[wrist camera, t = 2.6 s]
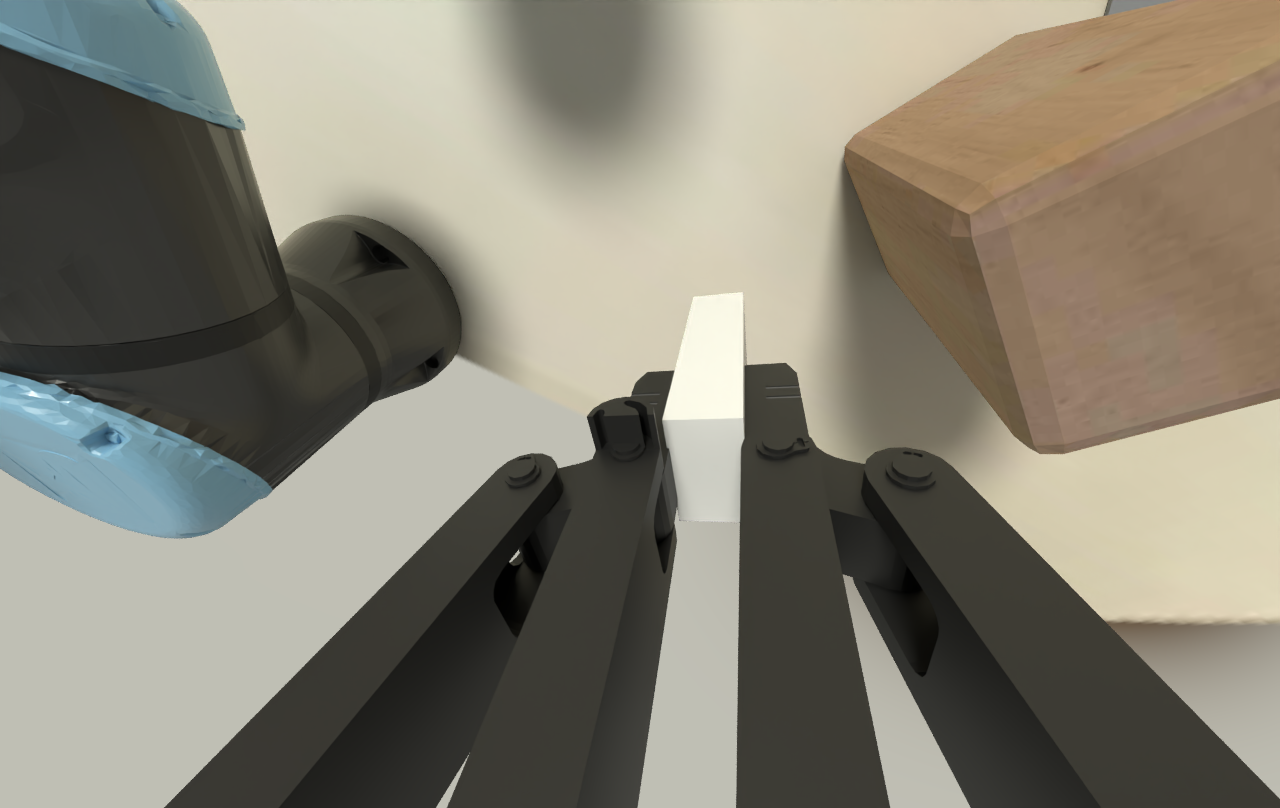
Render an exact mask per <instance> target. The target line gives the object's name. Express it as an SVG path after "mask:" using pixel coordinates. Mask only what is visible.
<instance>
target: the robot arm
mask: <svg viewBox="0 0 1280 808" xmlns="http://www.w3.org/2000/svg"><path fill="white" fill-rule="evenodd" d="M241 130H245V124H244V121H243V119H242V118H240V117H239V116H238V115H237V114H236V113H235V110H234V107H233V105H232V102H231V99H230V97H229V94H228V91H227V89H226V86H225V83H224V80H223V78H222V75H221V72H220V70H219V67H218V64H217V62H216V59H215V56H214V54H213V51H212V48H211V45H210V43H209V41H208V39H207V37H206V35H205V33H204V31H203V30H202V28H201V26H200V25H199V24H198V22H197V21H196V20H195V19H194V17H193V16H192V15H191V14H190V13H189V12H188V11H187V10H186V9H185V8H184V7H183V6H182V5H181V4H180V3H178V2H177V1H176V0H0V469H2V470H3V471H5V472H6V473H8V474H9V475H11V476H12V477H14V478H16V479H17V480H19V481H21V482H22V483H24V484H26V485H28V486H29V487H31V488H33V489H35V490H37V491H39V492H40V493H42V494H44V495H46V496H48V497H50V498H52V499H54V500H56V501H58V502H60V503H62V504H64V505H66V506H68V507H71V508H72V509H75V510H77V511H79V512H81V513H84V514H86V515H88V516H91V517H93V518H96V519H98V520H101V521H103V522H106V523H109V524H111V525H114V526H117V527H120V528H124V529H127V530H130V531H134V532H138V533H142V534H147V535H151V536H156V537H163V538H192V537H196V536H201V535H205V534H208V533H210V532H212V531H214V530H217V529H219V528H221V527H222V526H224V525H225V524H227V523H228V522H229V521H230V520H232V519H233V518H234V517H236V516H237V515H238V514H240V513H241V512H242V511H243V510H245V509H246V508H248V507H249V506H250V505H252V504H253V503H254V502H256V501H257V500H258V499H263V498H265V497H267V496H268V495H269V494H270V493H271V492H272V490H273V489H274V488H276V487H277V486H278V485H279V484H280V483H281V482H283V481H284V480H285V479H286V478H287V477H288V476H289V475H290V474H292V473H293V472H294V471H295V470H296V469H297V468H298V467H300V466H301V465H302V464H303V463H304V462H305V461H306V460H307V459H309V458H310V457H311V456H312V455H313V454H314V453H315V452H317V451H318V450H319V449H320V448H321V447H322V446H324V445H325V444H326V443H327V442H328V441H329V440H330V439H332V438H333V437H334V436H335V435H336V434H337V433H338V432H339V431H341V430H342V429H343V428H344V427H345V426H346V425H347V424H349V423H350V422H351V421H352V420H353V419H354V418H355V417H356V416H357V415H359V414H360V413H361V412H362V411H363V410H364V409H366V408H367V407H368V406H369V405H370V404H372V403H373V402H375V401H378V400H381V399H384V398H387V397H390V396H393V395H396V394H398V393H401V392H404V391H407V390H410V389H413V388H416V387H419V386H421V385H423V384H425V383H427V382H429V381H430V380H432V379H433V378H434V377H435V376H437V375H438V374H439V373H440V372H441V371H442V370H443V369H444V368H445V367H446V366H447V365H448V364H449V363H450V362H451V361H452V359H453V358H454V356H455V354H456V352H457V350H458V347H459V343H460V338H461V321H460V315H459V310H458V307H457V303H456V300H455V298H454V295H453V293H452V291H451V289H450V287H449V285H448V283H447V281H446V280H445V278H444V276H443V275H442V273H441V272H440V270H439V269H438V268H437V266H436V265H435V264H434V263H433V261H432V260H431V259H430V258H429V257H428V256H427V255H426V254H425V253H424V252H423V251H422V250H421V249H420V248H419V247H418V246H417V245H416V244H415V243H413V242H412V241H411V240H410V239H408V238H407V237H405V236H404V235H403V234H401V233H400V232H398V231H396V230H395V229H393V228H391V227H389V226H387V225H385V224H383V223H381V222H378V221H375V220H372V219H369V218H365V217H361V216H354V215H339V216H333V217H329V218H326V219H322V220H319V221H316V222H312V223H309V224H307V225H305V226H303V227H301V228H299V229H298V230H296V231H295V232H293V233H292V234H291V235H290V236H289V237H288V238H287V239H286V240H285V241H284V242H283V243H282V244H281V245H280V246H279V247H278V248H277V245H276V242H275V239H274V236H273V233H272V229H271V226H270V223H269V220H268V217H267V213H266V210H265V207H264V204H263V200H262V197H261V194H260V191H259V187H258V184H257V181H256V178H255V174H254V171H253V168H252V165H251V161H250V158H249V155H248V152H247V149H246V145H245V142H244V139H243V136H242V132H241ZM587 419H588V423H589V426H590V430H591V433H592V437H593V441H594V444H595V448H596V452H595V454H594V456H593V459H592V460H589V461H586V462H583V463H580V464H576V465H571V466H567V467H563V468H558V467H557V465H556V463H555V461H554V460H553V459H552V458H551V457H550V456H547V455H544V454H527V455H523V456H519V457H517V458H515V459H513V460H510V461H508V462H507V463H506V464H504V465H503V466H502V467H501V468H499V469H498V470H497V471H496V472H495V473H494V474H493V475H492V476H491V477H490V478H489V479H488V480H487V481H486V482H485V483H484V484H483V485H482V486H481V487H480V488H479V489H478V490H477V491H476V492H475V493H474V494H473V495H472V496H471V497H470V498H469V499H468V500H467V501H466V502H465V504H463V505H462V506H461V507H460V508H459V510H457V511H456V512H455V513H454V515H452V517H451V518H450V519H449V520H448V521H447V522H446V523H445V524H444V525H443V526H442V527H441V528H440V529H439V530H438V531H437V532H436V533H435V534H434V535H433V536H432V537H431V538H430V539H429V540H428V541H427V542H426V543H425V544H424V545H423V546H422V547H421V548H420V549H419V550H418V551H417V552H416V553H415V554H414V555H413V556H412V557H411V558H410V559H409V560H408V561H407V562H406V563H405V564H404V565H403V566H402V567H401V568H400V569H399V570H398V571H397V572H396V573H395V574H394V575H393V576H392V577H391V578H390V579H389V580H388V581H387V582H386V583H385V585H384V586H383V587H381V588H380V589H379V590H378V592H377V593H376V594H375V595H374V596H373V597H372V598H371V599H370V600H369V601H368V602H367V603H366V604H365V605H364V606H363V607H362V608H361V609H360V610H359V611H358V612H357V613H356V614H355V615H354V616H353V617H352V618H351V619H350V620H349V621H348V622H347V623H346V624H345V625H344V626H343V627H342V628H341V629H340V630H339V631H338V632H337V633H336V634H335V635H334V636H333V637H332V638H331V639H330V640H329V641H328V642H327V643H326V644H325V645H324V646H323V647H322V648H321V649H320V650H319V651H318V653H316V654H315V655H314V656H313V657H312V658H311V659H310V660H309V662H308V663H306V664H305V666H304V667H303V668H302V669H301V670H300V671H299V672H298V673H297V674H296V675H295V676H294V677H293V678H292V679H291V680H290V681H289V682H288V683H287V684H286V685H285V686H284V687H283V688H282V689H281V690H280V691H279V692H278V693H277V694H276V695H275V696H274V697H273V698H272V699H271V700H270V701H269V702H268V703H267V704H266V705H265V706H264V707H263V708H262V709H261V710H260V711H259V712H258V713H257V714H256V715H255V716H254V717H253V718H252V719H251V720H250V721H249V722H248V723H247V724H246V725H245V726H244V727H243V728H242V729H241V731H239V732H238V733H237V734H236V735H235V737H234V738H233V739H232V740H231V741H230V742H229V743H228V744H227V745H226V746H225V747H224V748H223V749H222V750H221V751H220V752H219V753H218V754H217V755H216V756H215V757H214V758H213V759H212V760H211V761H210V762H209V763H208V764H207V765H206V766H205V767H204V768H203V769H202V770H201V771H200V772H199V773H198V774H197V775H196V776H195V777H194V778H193V779H192V780H191V781H190V782H189V783H188V784H187V785H186V786H185V787H184V788H183V789H182V790H181V791H180V792H179V793H178V794H177V795H176V796H175V797H174V798H173V799H172V800H171V802H169V803H168V804H167V806H166V807H164V808H436V806H437V805H438V803H439V802H440V800H441V798H442V797H443V795H444V794H445V792H446V790H447V789H448V787H449V786H450V784H451V782H452V781H453V779H454V777H455V776H456V774H457V772H458V771H459V769H460V768H461V766H462V764H463V763H464V761H465V759H466V758H467V756H468V755H469V756H468V759H467V761H466V764H465V766H464V768H463V771H462V773H461V776H460V778H459V780H458V783H457V785H456V788H455V790H454V792H453V795H452V797H451V800H450V802H449V804H448V807H447V808H637V806H638V800H639V793H640V786H641V779H642V773H643V766H644V759H645V752H646V745H647V739H648V732H649V725H650V719H651V712H652V705H653V698H654V692H655V685H656V678H657V671H658V665H659V658H660V650H661V644H662V637H663V631H664V624H665V617H666V610H667V603H668V597H669V589H670V584H671V577H672V570H673V563H674V557H675V550H676V543H677V538H676V530H675V524H674V520H675V514H676V508H677V510H678V515H679V520H680V521H702V522H739V523H740V561H739V562H740V563H739V564H740V565H739V638H738V716H737V717H738V718H737V719H738V720H737V722H738V723H737V724H738V725H737V794H736V795H737V796H736V808H890V805H889V800H888V795H887V790H886V785H885V780H884V775H883V771H882V765H881V761H880V756H879V751H878V746H877V741H876V737H875V731H874V726H873V721H872V716H871V712H870V707H869V702H868V697H867V692H866V687H865V682H864V677H863V672H862V668H861V663H860V658H859V653H858V648H857V643H856V638H855V633H854V628H853V623H852V619H851V614H850V609H849V604H848V599H847V594H846V589H845V584H844V579H843V574H844V575H847V576H850V577H853V580H854V584H855V586H856V588H857V590H858V591H859V593H860V595H861V597H862V599H863V601H864V603H865V605H866V607H867V609H868V611H869V612H870V615H871V617H872V618H873V620H874V622H875V624H876V626H877V628H878V630H879V632H880V634H881V636H882V638H883V640H884V641H885V643H886V645H887V647H888V649H889V651H890V653H891V655H892V657H893V659H894V661H895V663H896V665H897V666H898V668H899V670H900V672H901V674H902V676H903V678H904V680H905V682H906V684H907V686H908V688H909V690H910V692H911V693H912V695H913V697H914V699H915V701H916V703H917V705H918V707H919V709H920V711H921V713H922V715H923V716H924V719H925V720H926V722H927V724H928V726H929V728H930V730H931V732H932V734H933V736H934V738H935V740H936V742H937V744H938V745H939V747H940V749H941V751H942V753H943V755H944V757H945V759H946V761H947V763H948V765H949V767H950V768H951V770H952V772H953V774H954V776H955V778H956V780H957V782H958V784H959V786H960V788H961V790H962V792H963V793H964V795H965V797H966V799H967V801H968V803H969V805H970V807H971V808H1280V799H1279V798H1278V797H1277V796H1276V795H1275V794H1274V793H1273V792H1272V791H1271V790H1270V789H1269V788H1268V787H1267V786H1266V785H1265V784H1264V783H1263V782H1262V781H1261V779H1259V777H1258V776H1257V775H1256V774H1255V773H1254V772H1253V771H1252V770H1250V768H1249V767H1248V766H1247V765H1246V764H1245V763H1244V762H1243V761H1242V760H1241V759H1240V758H1239V757H1238V756H1237V755H1236V754H1235V753H1234V752H1233V751H1232V750H1231V749H1230V748H1229V747H1228V746H1227V745H1226V744H1225V743H1224V742H1223V741H1222V740H1221V739H1220V738H1219V737H1218V736H1217V735H1216V734H1215V733H1214V732H1213V731H1212V730H1211V729H1210V728H1209V727H1208V726H1207V725H1206V724H1205V723H1204V722H1203V721H1202V720H1201V719H1200V718H1199V717H1198V716H1197V715H1196V713H1195V712H1194V711H1193V710H1192V709H1191V708H1190V707H1189V706H1188V705H1187V704H1186V703H1185V702H1184V701H1183V700H1182V699H1181V698H1180V697H1179V696H1178V695H1177V694H1176V693H1175V692H1174V691H1173V690H1172V689H1171V688H1170V687H1169V686H1168V685H1167V684H1166V683H1165V682H1164V681H1163V680H1162V679H1161V678H1160V677H1159V676H1158V675H1157V674H1156V673H1155V672H1154V671H1153V670H1152V669H1151V668H1150V667H1149V666H1148V665H1147V664H1146V663H1145V662H1144V661H1143V660H1142V659H1141V658H1140V657H1139V656H1138V655H1137V654H1136V653H1135V652H1134V651H1133V649H1132V648H1131V647H1129V646H1128V644H1127V643H1126V642H1125V641H1124V640H1123V639H1122V638H1121V637H1120V636H1119V635H1118V634H1117V633H1116V632H1115V631H1114V630H1113V629H1112V628H1111V627H1110V626H1109V625H1108V624H1107V623H1106V622H1105V621H1104V620H1103V619H1102V618H1101V617H1100V616H1099V615H1098V614H1097V613H1096V612H1095V611H1094V610H1093V609H1092V608H1091V607H1090V606H1089V605H1088V604H1087V603H1086V602H1085V601H1084V600H1083V599H1082V598H1081V597H1080V596H1079V595H1078V594H1077V593H1076V592H1075V591H1074V590H1073V589H1072V588H1071V587H1070V585H1069V584H1068V583H1067V582H1066V581H1065V580H1064V579H1063V578H1062V577H1061V576H1060V575H1059V574H1058V573H1057V572H1056V571H1055V570H1054V569H1053V568H1052V567H1051V566H1050V565H1049V564H1048V563H1047V562H1046V561H1045V560H1044V559H1043V558H1042V557H1041V556H1040V555H1039V554H1038V553H1037V552H1036V551H1035V550H1034V549H1033V548H1032V547H1031V546H1030V545H1029V544H1028V543H1027V542H1026V541H1025V540H1024V539H1023V538H1022V537H1021V536H1020V535H1019V534H1018V533H1017V532H1016V531H1015V530H1014V529H1013V528H1012V527H1011V526H1010V525H1009V524H1008V523H1007V522H1006V520H1005V519H1004V518H1003V517H1002V516H1001V515H1000V514H999V513H998V512H997V511H996V510H995V509H994V508H993V507H992V506H991V505H990V504H989V503H988V502H987V501H986V500H985V499H984V498H983V497H982V496H981V495H980V494H979V493H978V492H977V491H976V490H975V489H974V488H973V487H972V486H971V485H970V484H969V483H968V482H967V481H966V480H965V479H964V478H963V477H962V476H961V475H960V474H959V473H958V472H957V471H956V470H955V469H954V468H953V467H952V466H951V465H949V464H948V463H947V462H945V461H944V460H943V459H941V458H940V457H937V456H935V455H933V454H930V453H928V452H925V451H922V450H916V449H911V448H888V449H885V450H881V451H878V452H875V453H874V454H873V455H872V456H870V457H869V458H868V459H867V461H866V464H861V463H856V462H851V461H846V460H843V459H839V458H835V457H833V456H831V455H829V454H826V453H824V452H823V451H821V450H820V449H819V448H817V447H816V445H815V443H814V442H813V440H812V438H810V437H809V434H808V429H807V424H806V419H805V414H804V408H803V403H802V398H801V393H800V388H799V383H798V377H797V373H796V372H795V371H794V370H793V369H792V368H791V367H790V366H789V365H787V364H786V363H776V364H759V365H747V357H746V336H745V315H744V293H743V292H739V293H728V294H718V295H707V296H697V297H693V301H692V305H691V309H690V313H689V317H688V321H687V325H686V329H685V332H684V336H683V340H682V344H681V348H680V352H679V356H678V360H677V364H676V368H675V371H659V372H647V373H646V374H645V375H644V376H642V377H641V378H640V379H639V380H638V381H637V382H636V383H635V386H634V389H633V391H632V396H631V397H622V398H616V399H612V400H609V401H607V402H604V403H602V404H600V405H599V406H597V407H595V408H594V409H593V410H592V411H591V412H590V413H589V415H588V416H587ZM518 549H519V552H520V554H519V555H518V556H517V557H516V558H515V559H514V560H513V561H512V562H510V563H509V561H510V560H511V558H512V557H513V556H514V555H515V553H516V552H517V551H518ZM469 753H470V754H469Z"/></svg>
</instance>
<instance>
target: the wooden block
mask: <svg viewBox="0 0 1280 808" xmlns="http://www.w3.org/2000/svg"><path fill="white" fill-rule="evenodd" d="M844 162H845V164H846V167H847V169H848V172H849V174H850V177H851V179H852V182H853V184H854V187H855V190H856V192H857V195H858V197H859V200H860V202H861V205H862V207H863V210H864V213H865V215H866V218H867V220H868V223H869V225H870V228H871V230H872V233H873V235H874V238H875V241H876V243H877V246H878V248H879V251H880V253H881V256H882V258H883V261H884V264H885V266H886V269H887V271H888V273H889V275H890V276H891V277H892V279H893V280H894V281H895V283H896V284H897V285H898V286H899V288H900V289H901V290H902V292H903V293H904V294H905V295H906V297H907V298H908V299H909V301H910V302H911V303H912V305H913V306H914V307H915V308H916V310H917V311H918V312H919V314H920V315H921V316H922V317H923V319H924V320H925V321H926V323H927V324H928V325H929V327H930V328H931V329H932V330H933V332H934V333H935V334H936V336H937V337H938V338H939V339H940V341H941V342H942V343H943V345H944V346H945V347H946V349H947V350H948V351H949V352H950V354H951V355H952V356H953V358H954V359H955V360H956V361H957V363H958V364H959V365H960V367H961V368H962V369H963V370H964V372H965V373H966V374H967V376H968V377H969V378H970V380H971V381H972V382H973V383H974V385H975V386H976V387H977V389H978V390H979V391H980V392H981V394H982V395H983V396H984V398H985V399H986V400H987V402H988V403H989V404H990V405H991V407H992V408H993V409H994V411H995V412H996V413H997V414H998V416H999V417H1000V418H1001V420H1002V421H1003V422H1004V424H1005V425H1006V426H1007V427H1008V429H1009V430H1010V431H1011V433H1012V434H1013V435H1014V436H1015V437H1016V438H1017V439H1019V440H1020V441H1021V442H1022V443H1023V444H1025V445H1026V446H1027V447H1029V448H1030V449H1032V450H1034V451H1036V452H1038V453H1039V454H1065V453H1069V452H1073V451H1077V450H1081V449H1085V448H1088V447H1092V446H1096V445H1100V444H1104V443H1108V442H1112V441H1116V440H1120V439H1124V438H1127V437H1131V436H1135V435H1139V434H1143V433H1147V432H1151V431H1155V430H1159V429H1163V428H1166V427H1170V426H1174V425H1178V424H1182V423H1186V422H1190V421H1194V420H1198V419H1202V418H1206V417H1209V416H1213V415H1217V414H1221V413H1225V412H1229V411H1233V410H1237V409H1241V408H1245V407H1248V406H1252V405H1256V404H1260V403H1264V402H1268V401H1272V400H1276V399H1280V0H1176V1H1171V2H1166V3H1162V4H1157V5H1153V6H1148V7H1143V8H1139V9H1134V10H1130V11H1125V12H1121V13H1116V14H1111V15H1107V16H1102V17H1098V18H1093V19H1088V20H1084V21H1079V22H1075V23H1070V24H1065V25H1061V26H1056V27H1052V28H1047V29H1043V30H1038V31H1033V32H1029V33H1025V34H1020V35H1016V36H1014V37H1013V38H1011V39H1009V40H1008V41H1006V42H1004V43H1003V44H1001V45H1000V46H998V47H996V48H995V49H993V50H992V51H990V52H988V53H987V54H985V55H983V56H982V57H980V58H979V59H977V60H975V61H974V62H972V63H970V64H969V65H967V66H966V67H964V68H962V69H961V70H959V71H957V72H956V73H954V74H953V75H951V76H949V77H948V78H946V79H944V80H943V81H941V82H940V83H938V84H936V85H935V86H933V87H931V88H930V89H928V90H927V91H925V92H923V93H922V94H920V95H919V96H917V97H915V98H914V99H912V100H910V101H909V102H907V103H906V104H904V105H902V106H901V107H899V108H897V109H896V110H894V111H893V112H891V113H889V114H888V115H886V116H884V117H883V118H881V119H880V120H878V121H876V122H875V123H873V124H871V125H870V126H868V127H867V128H865V129H863V130H862V131H860V132H858V133H857V134H855V135H854V136H853V138H852V139H851V140H850V141H849V142H848V144H847V145H846V146H845V155H844Z"/></svg>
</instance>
